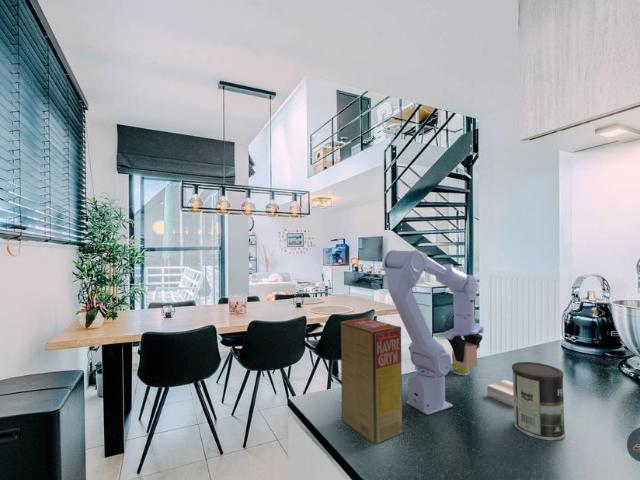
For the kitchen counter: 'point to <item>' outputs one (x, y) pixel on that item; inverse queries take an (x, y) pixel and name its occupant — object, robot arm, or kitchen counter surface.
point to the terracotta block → (468, 356)
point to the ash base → (502, 392)
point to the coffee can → (538, 400)
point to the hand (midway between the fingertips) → (465, 359)
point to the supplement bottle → (459, 368)
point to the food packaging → (371, 378)
